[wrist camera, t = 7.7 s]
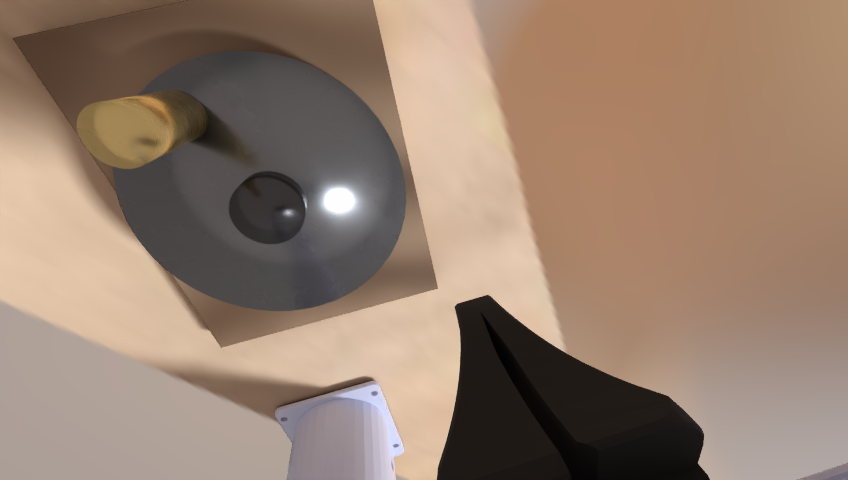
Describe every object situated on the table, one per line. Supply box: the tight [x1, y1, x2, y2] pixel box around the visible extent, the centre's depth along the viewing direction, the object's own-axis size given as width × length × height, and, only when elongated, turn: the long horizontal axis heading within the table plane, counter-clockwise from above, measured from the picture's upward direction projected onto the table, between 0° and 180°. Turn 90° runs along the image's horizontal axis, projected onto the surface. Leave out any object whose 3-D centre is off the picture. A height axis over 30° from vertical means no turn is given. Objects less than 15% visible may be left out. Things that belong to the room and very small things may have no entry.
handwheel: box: [77, 51, 406, 311], centre depth 15 cm, size 13×13×6 cm
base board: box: [13, 0, 438, 348], centre depth 19 cm, size 17×14×1 cm
